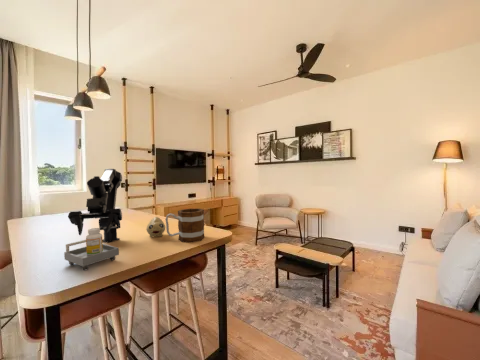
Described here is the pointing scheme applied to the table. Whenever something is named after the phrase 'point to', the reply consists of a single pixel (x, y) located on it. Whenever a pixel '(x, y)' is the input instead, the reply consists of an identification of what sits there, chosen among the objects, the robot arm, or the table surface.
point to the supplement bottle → (94, 242)
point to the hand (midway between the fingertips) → (93, 233)
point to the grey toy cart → (84, 260)
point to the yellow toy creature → (155, 227)
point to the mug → (189, 225)
